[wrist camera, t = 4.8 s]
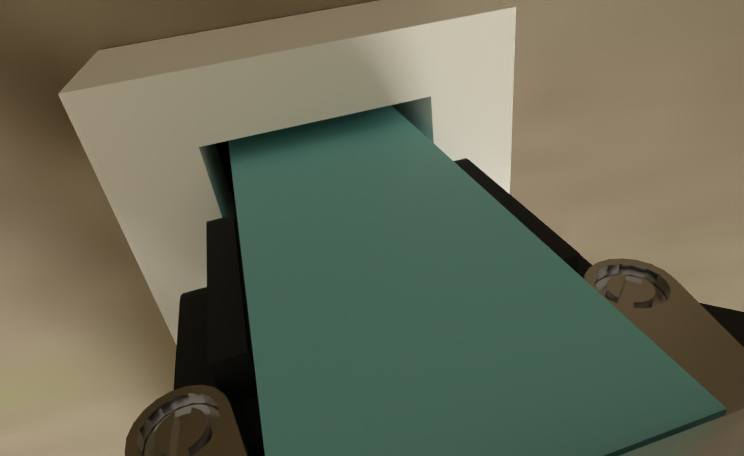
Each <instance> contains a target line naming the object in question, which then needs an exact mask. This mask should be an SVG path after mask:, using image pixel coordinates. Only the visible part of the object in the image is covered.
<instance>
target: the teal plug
mask: <svg viewBox="0 0 744 456" xmlns="http://www.w3.org/2000/svg"><path fill="white" fill-rule="evenodd" d="M228 143H229V152H230V161H231V169H232V178H233V186H234V195H235V203H236V212H237V221H238V229H239V238H240V246H241V255H242V263H243V272H244V281H245V289H246V298H247V306H248V315H249V324H250V332H251V341H252V349H253V358H254V366H255V375H256V384H257V392H258V401H259V409H260V418H261V426H262V435H263V444H264V452H265V456H619V455H622V454H625V453H627V452H630V451H632V450H635V449H638V448H640V447H643V446H646V445H648V444H651V443H654V442H656V441H659V440H662V439H664V438H667V437H670V436H672V435H675V434H678V433H680V432H683V431H686V430H688V429H691V428H693V427H696V426H699V425H701V424H704V423H707V422H709V421H712V420H715V419H717V418H720V417H723V416H724V415H725V413H726V410H727V408H726V407H725V406H724V405H723V404H722V403H721V402H719V401H718V400H717V399H716V398H715V397H714V396H713V395H712V394H711V393H709V392H708V391H707V390H706V389H705V388H704V387H703V386H702V385H701V384H699V383H698V382H697V381H696V380H695V379H694V378H693V377H692V376H691V375H690V374H688V373H687V372H686V371H685V370H684V369H683V368H682V367H681V366H680V365H678V364H677V363H676V362H675V361H674V360H673V359H672V358H671V357H670V356H668V355H667V354H666V353H665V352H664V351H663V350H662V349H661V348H660V347H659V346H657V345H656V344H655V343H654V342H653V341H652V340H651V339H650V338H649V337H647V336H646V335H645V334H644V333H643V332H642V331H641V330H640V329H639V328H637V327H636V326H635V325H634V324H633V323H632V322H631V321H630V320H629V319H628V318H626V317H625V316H624V315H623V314H622V313H621V312H620V311H619V310H618V309H616V308H615V307H614V306H613V305H612V304H611V303H610V302H609V301H608V300H607V299H605V298H604V297H603V296H602V295H601V294H600V293H599V292H598V291H597V290H595V289H594V288H593V287H592V286H591V285H590V284H589V283H588V282H587V281H585V280H584V279H583V278H582V277H581V276H580V275H579V274H578V273H577V272H576V271H574V270H573V269H572V268H571V267H570V266H569V265H568V264H567V263H566V262H564V261H563V260H562V259H561V258H560V257H559V256H558V255H557V254H556V253H554V252H553V251H552V250H551V249H550V248H549V247H548V246H547V245H546V244H545V243H543V242H542V241H541V240H540V239H539V238H538V237H537V236H536V235H535V234H533V233H532V232H531V231H530V230H529V229H528V228H527V227H526V226H525V225H523V224H522V223H521V222H520V221H519V220H518V219H517V218H516V217H515V216H514V215H512V214H511V213H510V212H509V211H508V210H507V209H506V208H505V207H504V206H502V205H501V204H500V203H499V202H498V201H497V200H496V199H495V198H494V197H493V196H491V195H490V194H489V193H488V192H487V191H486V190H485V189H484V188H483V187H481V186H480V185H479V184H478V183H477V182H476V181H475V180H474V179H473V178H471V177H470V176H469V175H468V174H467V173H466V172H465V171H464V170H463V169H462V168H460V167H459V166H458V165H457V164H456V163H455V162H454V161H453V160H452V159H450V158H449V157H448V156H447V155H446V154H445V153H444V152H443V151H442V150H440V149H439V148H438V147H437V146H436V145H435V144H434V143H433V142H432V141H431V140H429V139H428V138H427V137H426V136H425V135H424V134H423V133H422V132H421V131H419V130H418V129H417V128H416V127H415V126H414V125H413V124H412V123H411V122H410V121H408V120H407V119H406V118H405V117H404V116H403V115H402V114H401V113H400V112H398V111H397V110H396V109H395V108H394V107H393V106H392V105H389V106H385V107H380V108H376V109H371V110H366V111H362V112H357V113H353V114H348V115H344V116H339V117H334V118H330V119H325V120H321V121H316V122H311V123H307V124H302V125H298V126H293V127H289V128H284V129H279V130H275V131H270V132H266V133H261V134H257V135H252V136H247V137H243V138H238V139H234V140H229V141H228Z"/></svg>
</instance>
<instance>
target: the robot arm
mask: <svg viewBox="0 0 744 456" xmlns="http://www.w3.org/2000/svg"><path fill="white" fill-rule="evenodd" d="M454 162H455V163H456V164H457V165H458V166H459V167H460V168H462V169H463V170H464V171H465V172H466V173H467V174H468V175H469V176H470V177H471V178H473V179H474V180H475V181H476V182H477V183H478V184H479V185H480V186H481V187H483V188H484V189H485V190H486V191H487V192H488V193H489V194H490V195H491V196H493V197H494V198H495V199H496V200H497V201H498V202H499V203H500V204H501V205H502V206H504V207H505V208H506V209H507V210H508V211H509V212H510V213H511V214H512V215H514V216H515V217H516V218H517V219H518V220H519V221H520V222H521V223H522V224H523V225H525V226H526V227H527V228H528V229H529V230H530V231H531V232H532V233H533V234H535V235H536V236H537V237H538V238H539V239H540V240H541V241H542V242H543V243H545V244H546V245H547V246H548V247H549V248H550V249H551V250H552V251H553V252H554V253H556V254H557V255H558V256H559V257H560V258H561V259H562V260H563V261H564V262H566V263H567V264H568V265H569V266H570V267H571V268H572V269H573V270H574V271H576V272H577V273H578V274H579V275H580V276H581V277H582V278H583V279H584V280H585V281H587V282H588V283H589V284H590V285H591V286H592V287H593V288H594V289H595V290H597V291H598V292H599V293H600V294H601V295H602V296H603V297H604V298H605V299H607V300H608V301H609V302H610V303H611V304H612V305H613V306H614V307H615V308H616V309H618V310H619V311H620V312H621V313H622V314H623V315H624V316H625V317H626V318H628V319H629V320H630V321H631V322H632V323H633V324H634V325H635V326H636V327H637V328H639V329H640V330H641V331H642V332H643V333H644V334H645V335H646V336H647V337H649V338H650V339H651V340H652V341H653V342H654V343H655V344H656V345H657V346H659V347H660V348H661V349H662V350H663V351H664V352H665V353H666V354H667V355H668V356H670V357H671V358H672V359H673V360H674V361H675V362H676V363H677V364H678V365H680V366H681V367H682V368H683V369H684V370H685V371H686V372H687V373H688V374H690V375H691V376H692V377H693V378H694V379H695V380H696V381H697V382H698V383H699V384H701V385H702V386H703V387H704V388H705V389H706V390H707V391H708V392H709V393H711V394H712V395H713V396H714V397H715V398H716V399H717V400H718V401H719V402H721V403H722V404H723V405H724V406H725V407H726V408H727V410H726V413H725V415H724V416H723V417H720V418H717V419H715V420H712V421H709V422H707V423H704V424H701V425H699V426H696V427H693V428H691V429H688V430H686V431H683V432H680V433H678V434H675V435H672V436H670V437H667V438H664V439H662V440H659V441H656V442H654V443H651V444H648V445H646V446H643V447H640V448H638V449H635V450H632V451H630V452H627V453H625V454H622V455H619V456H744V312H741V311H736V310H731V309H726V308H721V307H716V306H711V305H707V304H702V303H699V302H698V301H697V300H696V299H695V298H694V297H693V296H692V295H691V294H690V293H689V292H688V291H687V290H686V289H685V288H684V287H683V286H682V285H681V284H680V283H679V282H678V281H677V280H676V279H675V278H673V277H672V276H671V275H670V274H668V273H667V272H666V271H664V270H662V269H660V268H658V267H656V266H654V265H652V264H649V263H645V262H642V261H638V260H631V259H608V260H605V261H601V262H598V263H596V264H594V265H591V264H590V263H589V262H588V261H587V260H586V259H584V258H583V257H582V256H581V255H580V254H579V253H578V252H577V251H576V250H575V249H574V248H572V247H571V246H570V245H569V244H568V243H567V242H565V241H564V240H563V239H562V238H561V237H559V236H558V235H557V234H556V233H555V232H554V231H552V230H551V229H550V228H549V227H548V226H546V225H545V224H544V223H543V222H542V221H541V220H539V219H538V218H537V217H536V216H535V215H534V214H532V213H531V212H530V211H529V210H528V209H526V208H525V207H524V206H523V205H522V204H521V203H519V202H518V201H517V200H516V199H515V198H514V197H512V196H511V195H510V194H509V193H508V192H506V191H505V190H504V189H503V188H502V187H501V186H499V185H498V184H497V183H496V182H495V181H494V180H492V179H491V178H490V177H489V176H488V175H486V174H485V173H484V172H483V171H482V170H481V169H479V168H478V167H477V166H476V165H475V164H473V163H472V162H471V161H470V160H469V159H467V158H464V159H460V160H456V161H454ZM206 245H207V287H204V288H201V289H197V290H193V291H189V292H186V293H182V294H181V296H180V303H179V318H178V333H177V348H176V363H175V378H174V390H173V391H171V392H169V393H167V394H166V395H164V396H162V397H160V398H158V399H157V400H156V401H154V402H153V403H152V404H151V405H150V406H148V407H147V408H146V409H145V410H144V411H143V412H142V413H141V414H140V416H139V417H138V418H137V419H136V421H135V422H134V423H133V425H132V427H131V429H130V431H129V434H128V436H127V438H126V445H125V456H265V452H264V444H263V435H262V426H261V418H260V409H259V401H258V392H257V384H256V375H255V366H254V358H253V349H252V341H251V332H250V324H249V315H248V306H247V298H246V289H245V281H244V272H243V263H242V255H241V246H240V238H239V229H238V221H236V218H235V216H234V215H232V216H227V217H223V218H219V219H215V220H211V221H207V223H206Z"/></svg>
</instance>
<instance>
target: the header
mask: <svg viewBox="0 0 744 456" xmlns="http://www.w3.org/2000/svg"><path fill="white" fill-rule="evenodd" d="M515 23H516V7H515V6H511V5H506V4H502V3H498V2H493V1H489V0H378V1H372V2H367V3H361V4H355V5H350V6H344V7H339V8H333V9H327V10H322V11H316V12H311V13H305V14H299V15H294V16H288V17H282V18H277V19H271V20H266V21H260V22H254V23H249V24H243V25H238V26H232V27H226V28H221V29H215V30H209V31H204V32H198V33H193V34H187V35H181V36H176V37H170V38H165V39H159V40H153V41H148V42H142V43H136V44H131V45H125V46H120V47H114V48H108V49H103V50H98V51H97V52H96V53H95V54H94V55H93V56H92V57H91V59H90V60H89V61H88V62H87V63H86V64H85V65H84V66H83V67H82V68H81V69H80V70H79V72H78V73H77V74H76V75H75V76H74V77H73V78H72V79H71V80H70V81H69V82H68V84H67V85H66V86H65V87H64V88H63V89H62V90H61V91H60V92H59V93H58V95H59V97H60V99H61V102H62V104H63V106H64V108H65V110H66V112H67V114H68V116H69V118H70V121H71V123H72V125H73V127H74V129H75V131H76V133H77V135H78V138H79V140H80V142H81V144H82V146H83V148H84V150H85V152H86V155H87V157H88V159H89V161H90V163H91V165H92V167H93V169H94V172H95V174H96V176H97V178H98V180H99V182H100V184H101V186H102V188H103V191H104V193H105V195H106V197H107V199H108V201H109V203H110V205H111V208H112V210H113V212H114V214H115V216H116V218H117V220H118V222H119V225H120V227H121V229H122V231H123V233H124V235H125V237H126V239H127V242H128V244H129V246H130V248H131V250H132V252H133V254H134V256H135V258H136V261H137V263H138V265H139V267H140V269H141V271H142V273H143V275H144V278H145V280H146V282H147V284H148V286H149V288H150V290H151V292H152V295H153V297H154V299H155V301H156V303H157V305H158V307H159V309H160V312H161V314H162V316H163V318H164V320H165V322H166V324H167V326H168V328H169V331H170V333H171V335H172V337H173V339H174V341H175V343H176V345H177V333H178V318H179V303H180V296H181V294H182V293H186V292H189V291H193V290H197V289H201V288H204V287H207V245H206V223H207V221H211V220H215V219H219V218H223V217H227V216H232V215H234V216H235V218H236V221H237V212H236V207H235V204H234V201H233V198H232V194H231V191H230V188H229V185H228V182H227V178H226V175H225V172H224V169H223V166H222V162H221V159H220V156H219V153H218V150H217V147H216V143H220V142H225V141H229V140H234V139H238V138H243V137H247V136H252V135H257V134H261V133H266V132H270V131H275V130H279V129H284V128H289V127H293V126H298V125H302V124H307V123H311V122H316V121H321V120H325V119H330V118H334V117H339V116H344V115H348V114H353V113H357V112H362V111H366V110H371V109H376V108H380V107H385V106H389V105H392V106H393V107H394V108H395V109H396V110H397V111H398V112H400V113H401V114H402V115H403V116H404V117H405V118H406V119H407V120H408V121H410V122H411V123H412V124H413V125H414V126H415V127H416V128H417V129H418V130H419V131H421V132H422V133H423V134H424V135H425V136H426V137H427V138H428V139H429V140H431V141H432V142H433V143H434V144H435V145H436V146H437V147H438V148H439V149H440V150H442V151H443V152H444V153H445V154H446V155H447V156H448V157H449V158H450V159H452V160H453V161H456V160H460V159H464V158H467V159H469V160H470V161H471V162H472V163H473V164H475V165H476V166H477V167H478V168H479V169H481V170H482V171H483V172H484V173H485V174H486V175H488V176H489V177H490V178H491V179H492V180H494V181H495V182H496V183H497V184H498V185H499V186H501V187H502V188H503V189H504V190H505V191H506V192H508V193H509V194H510V170H511V141H512V111H513V82H514V52H515Z"/></svg>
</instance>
